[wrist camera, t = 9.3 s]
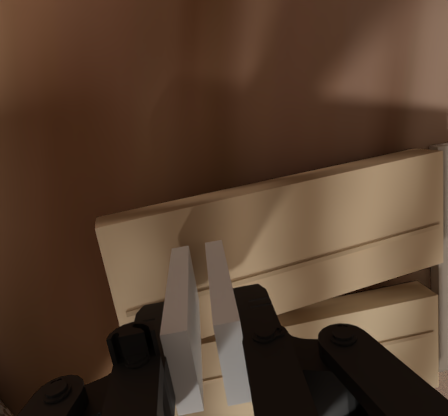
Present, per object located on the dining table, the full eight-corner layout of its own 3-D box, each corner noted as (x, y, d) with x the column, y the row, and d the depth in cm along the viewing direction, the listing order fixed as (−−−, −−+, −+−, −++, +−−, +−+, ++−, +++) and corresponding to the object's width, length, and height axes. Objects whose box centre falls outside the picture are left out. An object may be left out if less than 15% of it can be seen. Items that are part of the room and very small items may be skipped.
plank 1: (126, 338, 19) (128, 363, 17) (95, 217, 18) (94, 228, 16) (416, 251, 24) (444, 263, 22) (414, 148, 22) (444, 150, 20)
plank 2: (157, 425, 24) (155, 453, 22) (136, 337, 23) (131, 359, 21) (419, 366, 26) (439, 388, 24) (417, 280, 24) (439, 295, 22)
